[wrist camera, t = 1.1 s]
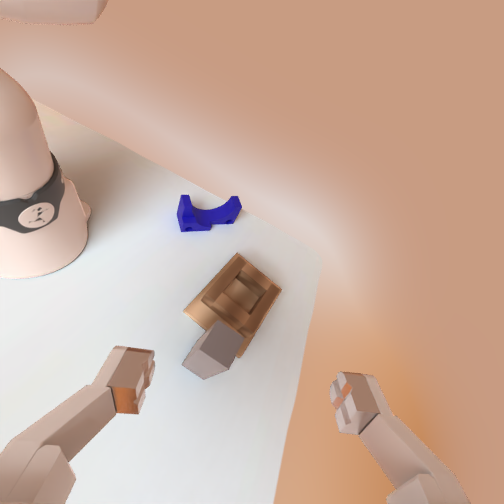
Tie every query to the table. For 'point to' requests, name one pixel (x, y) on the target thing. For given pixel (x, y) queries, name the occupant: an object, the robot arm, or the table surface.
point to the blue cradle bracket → (206, 214)
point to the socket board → (235, 300)
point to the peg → (214, 351)
